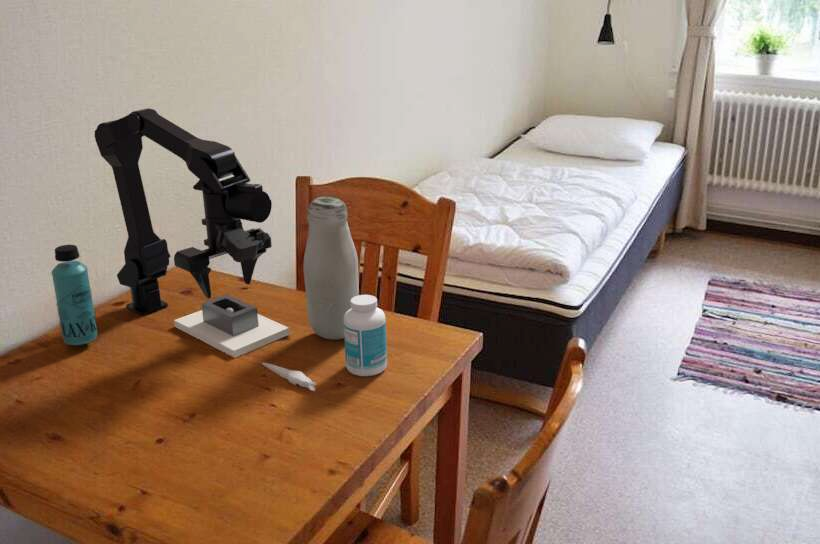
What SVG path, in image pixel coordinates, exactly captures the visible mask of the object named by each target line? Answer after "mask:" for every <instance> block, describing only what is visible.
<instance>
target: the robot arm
mask: <svg viewBox="0 0 820 544" xmlns="http://www.w3.org/2000/svg"><path fill="white" fill-rule="evenodd" d="M143 137H146V138H148V139H149V140H151V141H152V142H154V143H155V144H157V145H159V146H160V147H162V148H164V149H166V150H167V151H168V152H170V153H172V154H173V155H175V156H177V157H178V158H180V159H182V161H184V162H185V165H186V167H187V169H188V171H189V172H190V173H192V174H193V175H194V176H195V177H196V178H197V179H198V181H197V182H196V183H195V184H194V185H193V187H192V188H193V190H194V191H201V192H202V200H203V208H204V209H203V211H204V218H201V224H202V226H206V237H207V238H206V239H203V243H204V246H206V247H208V248H206V249H203V250H202V249H198V248H196V247H193V246H191V247H187V248H183V249H180V250H177V251H176V252H175V254H174V256H173V261H174V262H173V263H174V267H177V268H179V269H181V270H184V271H186V272H188V273H190V274H191V276H192V277H193V279H194V280H195V282H196V284H197V285H198V286H199V288H200V290H201V291H202V293H203V294H204V297H205V298H206V299H208V300H209V299H211V298H212V297H211V296H212V295H211V291H212V290H211V283H210V276H209V275H210V273H211V271H212V268H211V267H209V265H210V261H211V260H212V259H214V258H216V257H217V258H218V257H220V256H224V255H229V256H230V257H231V258H232V260H233V261H235V262H237V263H240V267H241V273H242V278H243V280H244V283H245V284H246V285H251V282H252V277H253V274H254V271H255V267H256V264H257V262H258V259H259V258H260V257H261V256H262V255H263V254H265V253H266V252H267V250H268V249H271V248H272V246H273V244H272V238H271V237H272V236H270V234H269V233H268V232H265V231H264V230H263V229H262V228H261V227H259V228H251V229H247V230H244V227H243V223H242V220H243V221H249V222H253V223H264V222H265V221H267V219H268V218H269V216H270V215H271V212H272V206H273V205H272V203H273V202H272V199H271V197H270V195H269V194H268V193H267V192H266V191H264V189H263V188H264V187H263V184H260V183H252V184H251V183H250V182H251V178H250V177H249V175H248V174H247V172H246V170H245V169H244V167H243V166H242V164H241V163H240V160H238V158H237V156H236V155H235V154H236V153H235V151H234V150H233V149H232V148H231V147H230V146H228V145H225V144H222V143H221V142H220V143H219V142H218V141H215V140H213V141H212V140H207V139H202V138H199V137H197V136H195V135H194V134H192V133H190V132H189V131H188V130H186V129H184V128H182V127H180V126H179V125H177V124H175V123H174V122H172V121H170V120H169V119H167V118H165V117H163V116H162V115H160V114H159V112H158V111H156V109H154V108H150V107H149V108H144V109H139V110H133V111H131V112H130V113H128V114H126V115H125V116H123V117H121V118H118V119H114V120H110V121H106V122H102V123H99V124H98V125H97V127H96V129H95V130H94V139H95V142H96V145H97V149H98V151H99V153H100V156H101V157H102V159H104V160H105V162H106V163H107V164H108V165H110V167H111V168H112V173H113V176H114V181H115V185H116V189H117V193H118V198H119V201H120V206H121V211H122V214H123V218H124V222H125V223H124V224H125V228H126V232H127V237H128V238H127V241H126V244H125V247H124V250H123V255H124V265H123V266H122V267H121V269H120V270H119V271H118V273H117V275H116V277H117V280H118V283H119V284H120V285H121V286H125V287H128V288H129V289H130V295H131V302H130V303H126V304H125V307H126V308H127V309H129V310H131V311H133V312H134V313H136V314H139V315H141V316H142V315H146V314H149V313H153V312H155V311H158V310H160V309H161V310H162V309H163V308H166V307H168V306H169V304H168V302H166V301H164V300H162V299H161V291H160V286H159V280H158V279H159V278H162V277H165V276H166V275H167V271H168V266H169V265H170V258H171V254H170V252H169V249H168V241H167V240H166V239H165V238H162V239H161V237H159V236H158V234H156V233H155V232H154V227H153V223H152V219H151V216H150V211H149V206H148V201H147V197H146V192H145V187H144V183H143V179H142V175H141V171H140V166H139V161H140V158H141V155H142V151H143ZM232 175H233V176H232ZM230 176H231V177H230ZM227 177H228V178H227ZM220 179H222V180H220Z"/></svg>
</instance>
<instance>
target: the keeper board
mask: <svg viewBox="0 0 820 544" xmlns="http://www.w3.org/2000/svg"><path fill="white" fill-rule="evenodd" d="M226 310H227V311H229V312H231V313H234V310H233V309H232V308H227V309H226ZM173 321H174V327H175V328H176V329H179V330H180V331H182V332H184V333H186V334H188V335H190V336H192V337H194V338H195V337H196V339H198V340H199V339H200V341H201V340H202V341H201V342H204V343H205V344H207V345H209V346H210V347H213V348H215V349H217V350H219V351H221V352H223V353H224V352H225V354H226V355H228V356H230V357H233V358H234V359H235V358H238V357H241V356H244V355H245V354H247V353H249V352H252V351H255V350H257V349H259V348H261V347H264V346H266V345H269V344H271V343H273V342H276V341H277V340H280V339H282V338H285V337H287V336H289V335H290V328H289V326H286V325H284V324H281V323H279V322H276V321H275V320H272V319H270V318H267V317H266V316H263V315H262V314H259V313H258V325H259V326H258V327H256V328H253V329H251V330H248V331H246V332H243V333H241V334H238V335H236V336H231V335H229V334H227V333H225V332H223V331H221V330H219V329H217V328H215V327H213V326H211V325H209V324H207V323H205V322H203V313H202V309H201V310H198V311H195V312H192V313H190V314H187V315H184V316H182V317H179V318H176V319H174V320H173ZM240 355H241V356H240Z"/></svg>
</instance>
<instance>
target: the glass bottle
mask: <svg viewBox="0 0 820 544" xmlns="http://www.w3.org/2000/svg"><path fill="white" fill-rule="evenodd" d="M307 209H308V210H307V217H306V218H307V222H308V233H307V239H306V245H305V249H304V256H303V279H304V287H305V288H304V289H305V297H306V313H307V318H308V323H309V326H310V328H311V330H312V331H313V332H314V333H315V334H316V335H317V336H319V337H322V338H323V339H325V340H332V341H333V340H337V341H338V340H342V339H344V315H345V313H346V312H347V311H348V310H349V309H351V303H350V301H351V299H352V298H353V297H355V296H358V295H360V289H359V285H360V283H359V259H358V254H357V249H356V247H355V243H354V240H353V238H352V235H351V231H350V228H349V223H348V209H347V205H346V203H345V202H344V201H343V200H341V199H339V198H337V197H334V196H319V197H317V198H316V197H315V198H314V199H313V200H312V201H311V202H310V204H309V206H308V208H307Z"/></svg>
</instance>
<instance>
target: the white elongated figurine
mask: <svg viewBox="0 0 820 544" xmlns="http://www.w3.org/2000/svg"><path fill="white" fill-rule="evenodd" d="M262 365H263V366H264V367H265V368H268V369H269V370H270V371H272V372H274V373H276V374H277V375H278V376H280V377H281V378H284V379H285V380H287V381H288V382H289V383H290V384H291V385H293V386H298V387H302V388H307V389H309V390H310V391H312V392H315V391H316V388H315V386H317V382H315V381H312V379H311V378H310V377H308V376H306V374H305V373H303V372H302V371H299V370H291V369H288V368H285V367H282V366H278V365H276V364H272V363H267V362H262ZM276 374H275V375H276Z"/></svg>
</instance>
